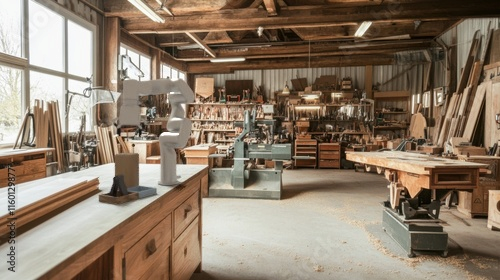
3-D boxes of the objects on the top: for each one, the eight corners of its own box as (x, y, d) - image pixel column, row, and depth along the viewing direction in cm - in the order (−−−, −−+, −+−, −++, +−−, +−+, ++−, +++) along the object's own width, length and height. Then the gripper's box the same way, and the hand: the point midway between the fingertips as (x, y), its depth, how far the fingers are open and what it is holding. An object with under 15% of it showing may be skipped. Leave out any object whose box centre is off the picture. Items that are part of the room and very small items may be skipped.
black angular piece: (130, 198, 156) (130, 174, 155) (125, 201, 150) (125, 176, 149) (112, 198, 156) (111, 174, 155) (106, 201, 150) (106, 176, 149)
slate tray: (139, 191, 173) (139, 185, 173) (156, 193, 167) (156, 187, 167) (120, 195, 162) (120, 189, 162) (138, 198, 156) (138, 192, 156)
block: (139, 187, 182) (139, 153, 181) (131, 191, 172) (131, 154, 171) (123, 186, 183) (123, 152, 182) (114, 190, 173) (113, 154, 172)
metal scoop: (119, 192, 170) (119, 188, 170) (125, 193, 168) (125, 189, 168) (100, 197, 159) (100, 193, 159) (106, 198, 157) (106, 194, 157)
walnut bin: (119, 195, 161) (119, 190, 161) (138, 198, 156) (137, 192, 156) (98, 201, 150) (98, 194, 150) (117, 204, 145) (117, 197, 144)
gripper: (148, 105, 168) (147, 137, 169) (113, 103, 164) (112, 136, 164) (147, 103, 161) (147, 137, 161) (111, 101, 156) (110, 136, 157)
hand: (129, 136), depth 163 cm, fingers open, 9 cm apart
